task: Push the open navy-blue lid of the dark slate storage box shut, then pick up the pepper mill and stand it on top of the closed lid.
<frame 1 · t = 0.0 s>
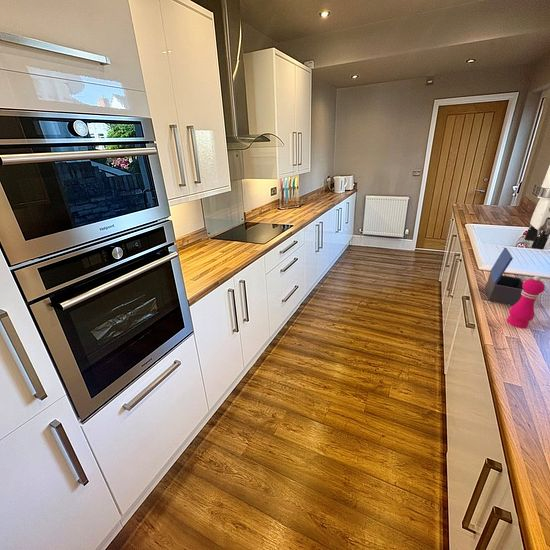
hand: (533, 244, 101), 30 cm above the counter, tool pointing down, fingers open, 9 cm apart
pepper mill: (516, 323, 110), on the counter
lid: (500, 265, 124), point 14 cm above the counter, hinge at 80.0°
storage box: (502, 297, 129), on the counter
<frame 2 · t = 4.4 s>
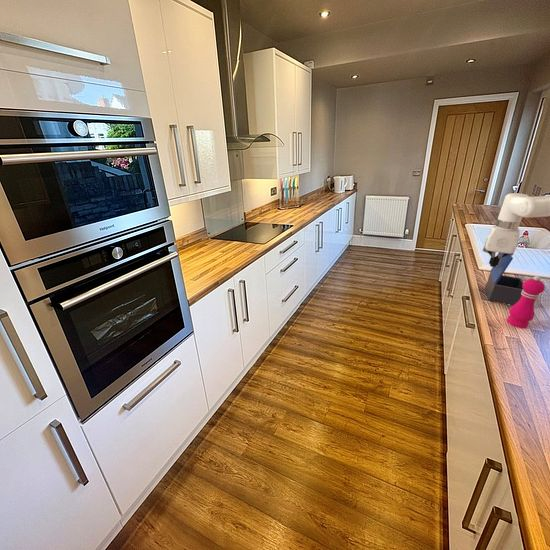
hand: (492, 265, 126), 14 cm above the counter, tool pointing down, fingers closed
lid: (500, 265, 124), point 14 cm above the counter, hinge at 79.7°, touching gripper
everything else where it was.
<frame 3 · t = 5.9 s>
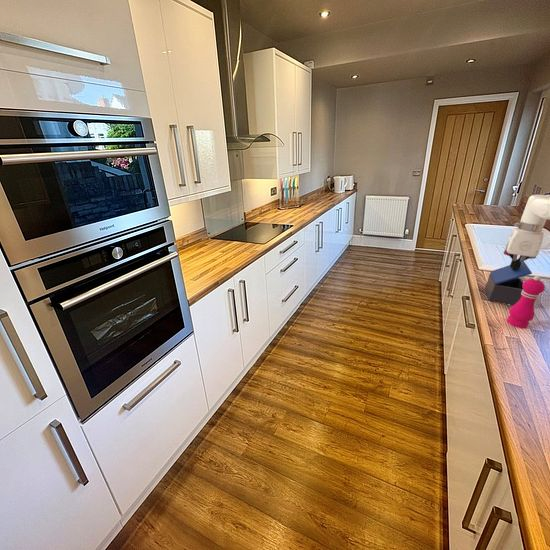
hand: (513, 269, 123), 14 cm above the counter, tool pointing down, fingers closed
lid: (509, 272, 124), point 12 cm above the counter, hinge at 36.5°
everything else where it was.
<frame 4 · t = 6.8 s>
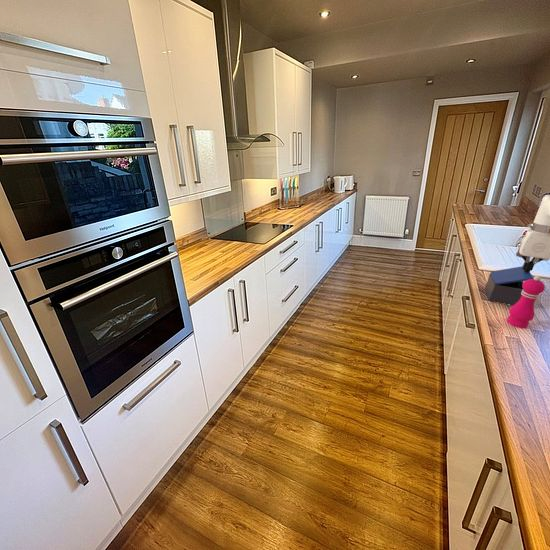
hand: (526, 271, 121), 14 cm above the counter, tool pointing down, fingers closed
lid: (510, 275, 124), point 11 cm above the counter, hinge at 24.5°, touching gripper
everything else where it was.
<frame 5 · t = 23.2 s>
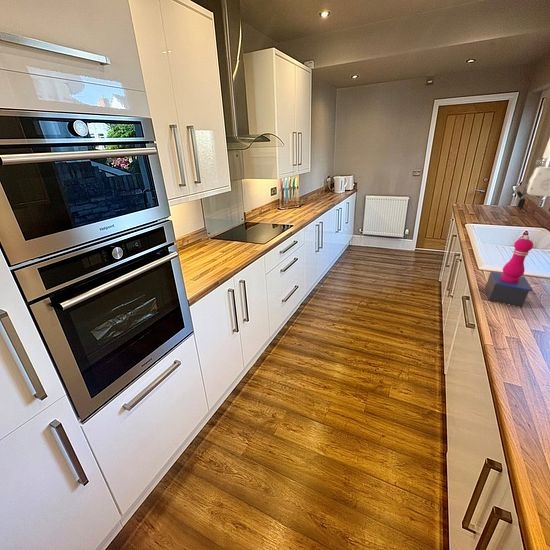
hand: (534, 210, 114), 38 cm above the counter, tool pointing down, fingers open, 9 cm apart
pepper mill: (509, 280, 125), point 8 cm above the counter, touching lid
lid: (510, 280, 125), point 8 cm above the counter, hinge at -0.1°, touching pepper mill
at the end: lid at +0° (first picture: +80°); pepper mill inside the target area on the storage box (0.1 cm from its centre), point 8.4 cm above the storage box's base; pepper mill tilted 0° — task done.
